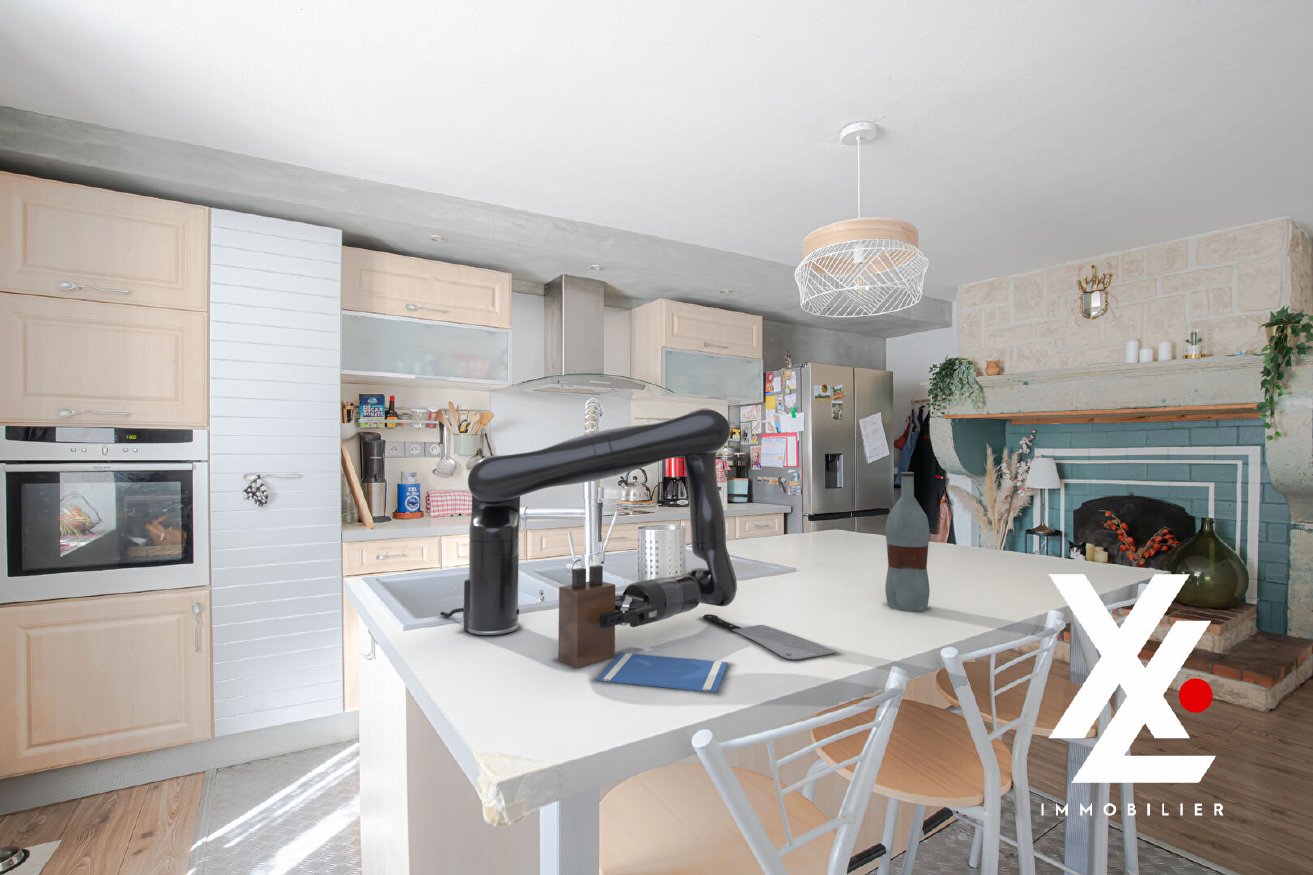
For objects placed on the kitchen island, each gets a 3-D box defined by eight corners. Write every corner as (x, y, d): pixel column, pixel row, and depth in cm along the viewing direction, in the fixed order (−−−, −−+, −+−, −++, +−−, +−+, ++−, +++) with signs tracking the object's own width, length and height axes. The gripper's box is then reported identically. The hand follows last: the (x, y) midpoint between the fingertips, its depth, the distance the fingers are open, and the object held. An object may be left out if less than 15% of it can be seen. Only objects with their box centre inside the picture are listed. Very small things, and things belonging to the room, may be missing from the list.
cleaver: (737, 612, 133) (697, 617, 129) (737, 609, 133) (697, 615, 129) (837, 653, 107) (791, 661, 103) (837, 650, 107) (791, 658, 103)
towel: (597, 680, 94) (597, 677, 94) (621, 655, 106) (621, 652, 106) (716, 692, 90) (716, 689, 90) (727, 664, 101) (727, 662, 101)
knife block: (558, 660, 103) (559, 568, 103) (595, 649, 109) (596, 562, 109) (577, 667, 99) (577, 572, 100) (614, 656, 105) (615, 566, 105)
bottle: (908, 600, 146) (908, 471, 146) (939, 609, 137) (939, 472, 138) (876, 603, 143) (876, 471, 143) (905, 613, 134) (906, 473, 134)
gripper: (627, 573, 120) (558, 586, 109) (682, 585, 110) (613, 601, 99) (627, 613, 120) (558, 630, 109) (682, 628, 110) (612, 649, 99)
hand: (584, 616), depth 104 cm, fingers open, 8 cm apart
